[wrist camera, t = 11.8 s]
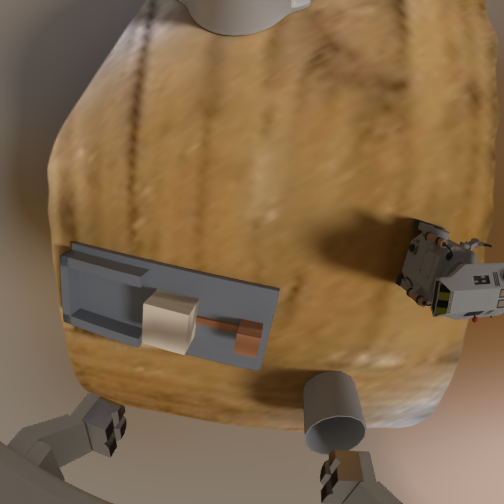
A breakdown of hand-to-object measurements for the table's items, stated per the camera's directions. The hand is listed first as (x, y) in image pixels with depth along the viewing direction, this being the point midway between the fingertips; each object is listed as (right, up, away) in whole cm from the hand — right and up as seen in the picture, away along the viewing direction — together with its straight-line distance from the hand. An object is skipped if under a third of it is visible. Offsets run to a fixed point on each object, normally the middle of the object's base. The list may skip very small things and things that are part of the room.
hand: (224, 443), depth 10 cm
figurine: (+25, +7, +28) cm, 38 cm away
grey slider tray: (-12, -1, +34) cm, 36 cm away
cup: (+13, -14, +35) cm, 40 cm away
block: (-5, -2, +33) cm, 33 cm away
